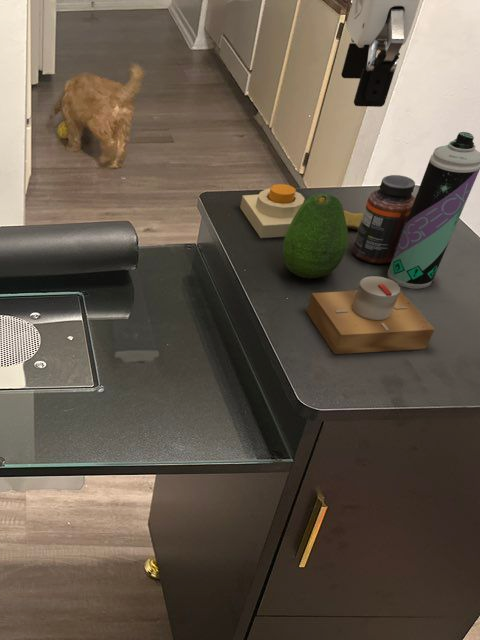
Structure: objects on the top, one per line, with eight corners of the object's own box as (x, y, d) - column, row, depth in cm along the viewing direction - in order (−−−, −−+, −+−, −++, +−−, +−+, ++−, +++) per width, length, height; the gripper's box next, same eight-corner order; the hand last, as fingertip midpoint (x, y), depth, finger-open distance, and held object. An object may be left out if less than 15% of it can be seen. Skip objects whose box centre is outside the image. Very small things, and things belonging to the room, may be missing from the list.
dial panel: (391, 307, 94) (399, 286, 92) (426, 349, 87) (435, 328, 85) (306, 312, 94) (312, 291, 92) (334, 354, 88) (341, 333, 85)
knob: (345, 301, 91) (354, 275, 88) (380, 298, 91) (390, 272, 88) (361, 321, 87) (371, 295, 85) (398, 318, 87) (408, 292, 85)
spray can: (379, 269, 101) (430, 127, 88) (417, 265, 101) (474, 123, 88) (400, 290, 97) (457, 145, 84) (440, 286, 97) (503, 141, 84)
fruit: (345, 291, 97) (372, 209, 90) (284, 291, 98) (306, 211, 90) (327, 260, 104) (351, 181, 96) (270, 261, 104) (289, 182, 96)
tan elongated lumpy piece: (409, 239, 109) (416, 234, 106) (313, 232, 113) (317, 228, 110) (412, 217, 109) (419, 212, 106) (316, 211, 113) (320, 206, 110)
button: (288, 193, 112) (290, 183, 111) (296, 204, 109) (299, 193, 108) (264, 195, 112) (267, 184, 111) (272, 205, 109) (275, 195, 108)
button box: (289, 204, 117) (295, 181, 114) (313, 235, 109) (320, 210, 107) (239, 207, 117) (244, 184, 114) (260, 238, 109) (265, 214, 107)
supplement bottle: (394, 247, 105) (422, 173, 98) (398, 268, 101) (427, 192, 94) (350, 242, 107) (373, 169, 100) (351, 262, 103) (376, 188, 95)
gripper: (357, -88, 83) (318, 67, 94) (385, -59, 71) (337, 116, 82) (429, -90, 82) (381, 68, 93) (471, -60, 69) (410, 118, 80)
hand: (361, 91), depth 87 cm, fingers open, 9 cm apart
